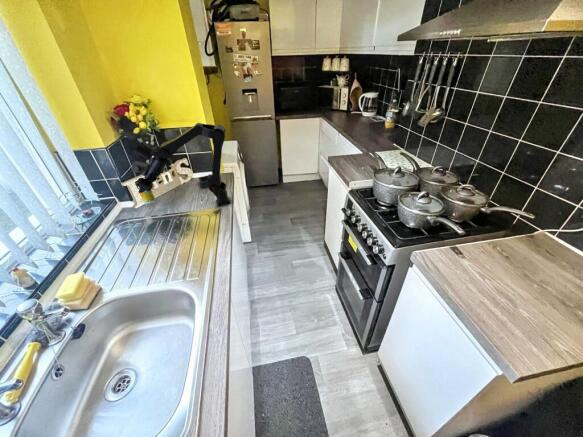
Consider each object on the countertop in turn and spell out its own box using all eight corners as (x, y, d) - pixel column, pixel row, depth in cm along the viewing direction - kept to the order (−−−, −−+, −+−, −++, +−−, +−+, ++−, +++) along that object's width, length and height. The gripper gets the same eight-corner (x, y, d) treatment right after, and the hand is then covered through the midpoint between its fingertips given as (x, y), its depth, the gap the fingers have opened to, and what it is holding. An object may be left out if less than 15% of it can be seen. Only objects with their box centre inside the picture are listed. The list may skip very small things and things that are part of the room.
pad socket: (216, 184, 147) (214, 179, 145) (202, 188, 144) (201, 182, 142) (213, 179, 153) (212, 174, 150) (200, 182, 150) (198, 177, 148)
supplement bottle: (149, 204, 121) (141, 187, 115) (141, 202, 122) (133, 185, 117) (157, 199, 125) (150, 182, 119) (149, 197, 126) (142, 180, 120)
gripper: (145, 148, 117) (131, 172, 123) (130, 164, 103) (115, 190, 108) (168, 162, 123) (153, 184, 128) (157, 179, 108) (141, 203, 113)
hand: (141, 189), depth 119 cm, fingers closed on supplement bottle, 5 cm apart
